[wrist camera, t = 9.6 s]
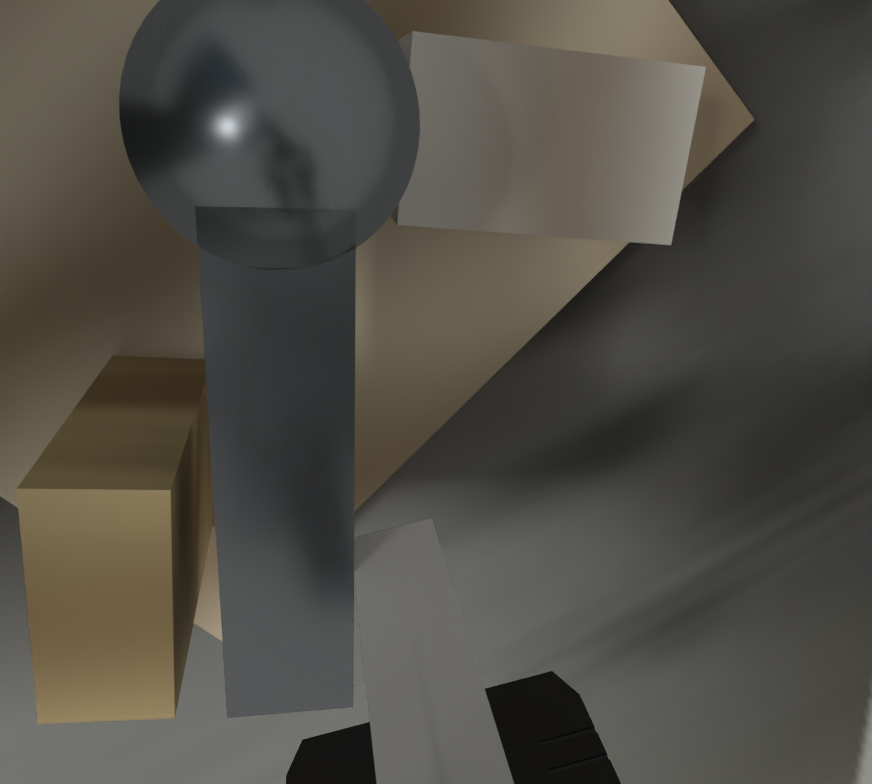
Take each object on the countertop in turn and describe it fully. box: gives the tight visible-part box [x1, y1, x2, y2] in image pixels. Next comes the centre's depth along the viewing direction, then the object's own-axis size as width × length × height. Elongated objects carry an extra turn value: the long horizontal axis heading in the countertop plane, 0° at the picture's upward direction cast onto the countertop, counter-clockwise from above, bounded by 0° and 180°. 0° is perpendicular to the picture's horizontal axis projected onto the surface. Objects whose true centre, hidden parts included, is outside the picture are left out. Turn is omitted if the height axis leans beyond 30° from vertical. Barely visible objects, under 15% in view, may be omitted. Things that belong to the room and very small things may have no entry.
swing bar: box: [119, 0, 420, 718], centre depth 12 cm, size 11×4×2 cm, turn 178°
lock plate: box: [0, 0, 755, 724], centre depth 13 cm, size 15×17×8 cm
